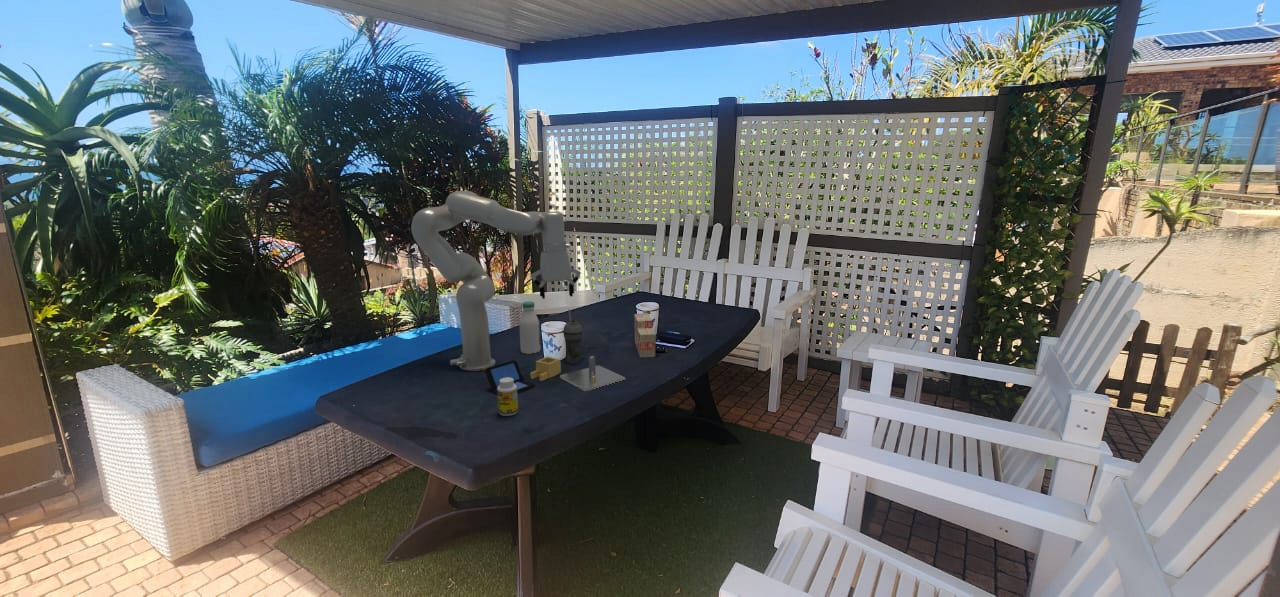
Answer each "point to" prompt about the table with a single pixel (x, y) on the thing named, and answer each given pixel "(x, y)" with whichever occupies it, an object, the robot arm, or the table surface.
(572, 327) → the beverage cup
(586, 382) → the post base
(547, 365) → the yellow hollow square block
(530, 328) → the milk bottle
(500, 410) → the supplement bottle
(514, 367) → the handheld game console
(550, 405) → the table surface
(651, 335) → the stack of blocks
